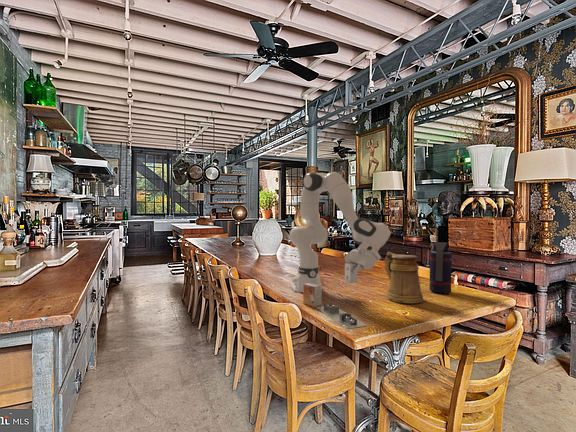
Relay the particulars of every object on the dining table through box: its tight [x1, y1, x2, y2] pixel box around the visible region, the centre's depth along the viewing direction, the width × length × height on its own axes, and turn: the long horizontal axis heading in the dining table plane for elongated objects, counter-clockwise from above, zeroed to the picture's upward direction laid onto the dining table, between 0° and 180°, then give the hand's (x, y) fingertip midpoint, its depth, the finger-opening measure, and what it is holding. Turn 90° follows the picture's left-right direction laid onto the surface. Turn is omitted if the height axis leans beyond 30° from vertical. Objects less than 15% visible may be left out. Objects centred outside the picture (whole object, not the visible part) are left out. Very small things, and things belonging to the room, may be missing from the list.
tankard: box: [384, 251, 424, 304], centre depth 183 cm, size 18×24×25 cm
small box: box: [302, 283, 323, 308], centre depth 172 cm, size 8×6×10 cm
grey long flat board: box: [315, 303, 368, 330], centre depth 154 cm, size 30×10×4 cm, turn 21°
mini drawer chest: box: [344, 262, 358, 284], centre depth 162 cm, size 5×4×9 cm
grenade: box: [428, 241, 453, 295], centre depth 197 cm, size 14×12×30 cm
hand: (349, 271), depth 162 cm, fingers closed on mini drawer chest, 5 cm apart
